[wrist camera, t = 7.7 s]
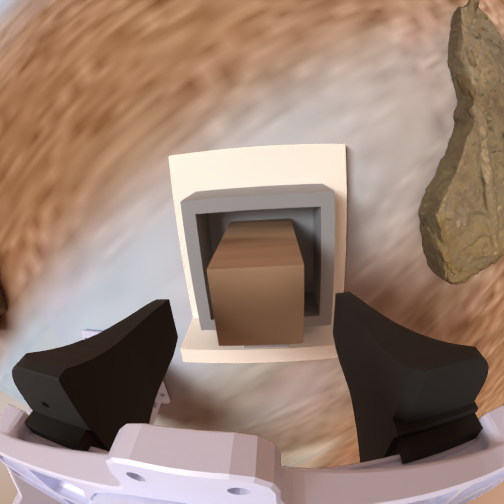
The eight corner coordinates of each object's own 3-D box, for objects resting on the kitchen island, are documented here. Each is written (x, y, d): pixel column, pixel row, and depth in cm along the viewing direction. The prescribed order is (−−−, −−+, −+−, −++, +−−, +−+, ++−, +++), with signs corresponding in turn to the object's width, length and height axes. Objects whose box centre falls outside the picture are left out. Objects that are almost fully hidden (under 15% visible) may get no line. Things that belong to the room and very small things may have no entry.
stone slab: (494, 283, 21) (519, 303, 16) (396, 261, 23) (413, 283, 18) (515, 41, 13) (537, 28, 8) (420, -4, 15) (434, -29, 10)
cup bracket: (339, 319, 23) (352, 356, 19) (197, 325, 24) (183, 362, 20) (342, 144, 19) (364, 143, 14) (172, 155, 19) (144, 159, 15)
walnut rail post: (292, 273, 21) (303, 343, 13) (235, 276, 21) (218, 345, 13) (290, 218, 19) (304, 264, 12) (230, 221, 20) (206, 269, 12)
